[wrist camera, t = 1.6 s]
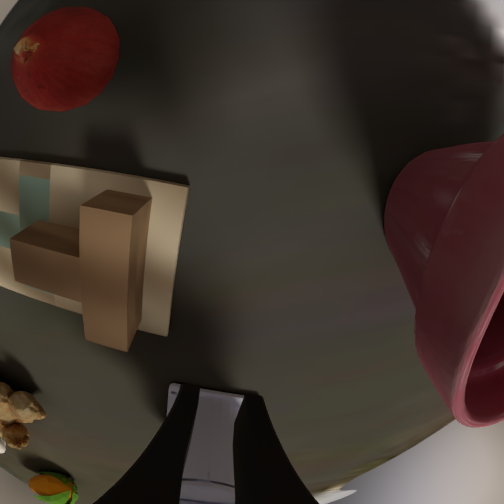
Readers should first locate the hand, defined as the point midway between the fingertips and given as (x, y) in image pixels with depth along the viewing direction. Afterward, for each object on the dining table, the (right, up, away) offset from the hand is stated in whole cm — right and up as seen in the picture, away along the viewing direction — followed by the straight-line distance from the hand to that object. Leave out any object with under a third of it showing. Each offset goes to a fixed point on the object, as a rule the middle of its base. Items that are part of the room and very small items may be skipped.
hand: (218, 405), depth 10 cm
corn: (-39, -40, +29) cm, 63 cm away
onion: (-8, +17, +4) cm, 19 cm away
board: (-13, +7, +8) cm, 17 cm away
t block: (-10, +6, +8) cm, 14 cm away
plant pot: (+14, +9, +8) cm, 19 cm away
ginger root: (-31, -13, +17) cm, 38 cm away
